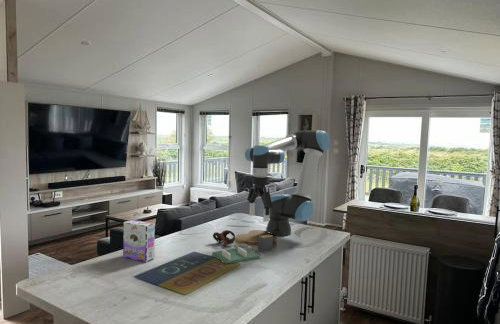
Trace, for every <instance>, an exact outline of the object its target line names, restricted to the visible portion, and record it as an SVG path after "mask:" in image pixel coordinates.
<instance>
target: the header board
mask: <svg viewBox="0 0 500 324" xmlns="http://www.w3.org/2000/svg"><path fill="white" fill-rule="evenodd" d="M212 256H214V257H215V258H216V257H217V258H216V259H218V260H219V259H220V260H221V262H222V261H223V262H224V263H230V264H235V263H236V264H237V263H241V262H247V261H250V260H251V261H252V260H256V259H260V258H261V256H260V254H257V253H256V252H254V251H253V247H252V246H250V245H248V243H247V244H246V243H239V244H235V245H234V248H230V249H221V250H217V251H212ZM220 260H219V261H220ZM223 262H222V263H223ZM224 263H223V264H224Z"/></svg>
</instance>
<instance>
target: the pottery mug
mask: <svg viewBox="0 0 500 324" xmlns="http://www.w3.org/2000/svg"><path fill="white" fill-rule="evenodd" d="M229 234H230V235H231V236H232V238H230V237H227V235H229ZM212 237H213V239H214V240H215V241H216V243H221V242H223V244H222V246H223V248H224V247H227V246H229V245H232V244H234V243H235V240H236V235H235V233H234V232H233V231H231V230H223V231H221V233H220V232H214V233H212Z"/></svg>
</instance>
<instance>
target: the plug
mask: <svg viewBox="0 0 500 324" xmlns="http://www.w3.org/2000/svg"><path fill="white" fill-rule="evenodd" d="M273 236H274V235H270V234H264V235H258V240H257V243H258V245H257V250H258V251H259V252H262V253H263V252H271V251H273V244H274V243H273V241H274V237H273Z"/></svg>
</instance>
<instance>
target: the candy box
mask: <svg viewBox="0 0 500 324" xmlns="http://www.w3.org/2000/svg"><path fill="white" fill-rule="evenodd" d="M122 231H123V232H122V255H123V256H122V258H126V259H130V260H133V261H138V262H143V263H147V262H150V261H152V260H155V238H156V237H155V236H156V235H155V231H156V223H153V222H145V221H141V220H135V219H131V220H126V221H124V222H122Z"/></svg>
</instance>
